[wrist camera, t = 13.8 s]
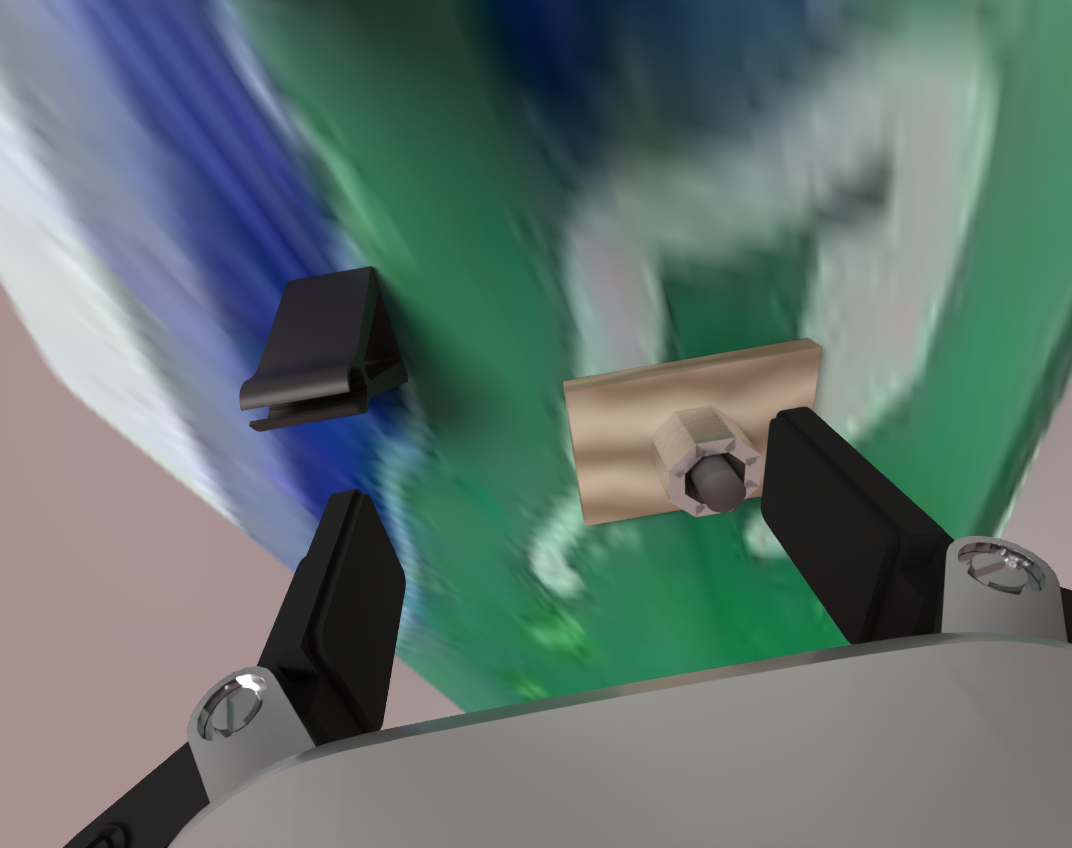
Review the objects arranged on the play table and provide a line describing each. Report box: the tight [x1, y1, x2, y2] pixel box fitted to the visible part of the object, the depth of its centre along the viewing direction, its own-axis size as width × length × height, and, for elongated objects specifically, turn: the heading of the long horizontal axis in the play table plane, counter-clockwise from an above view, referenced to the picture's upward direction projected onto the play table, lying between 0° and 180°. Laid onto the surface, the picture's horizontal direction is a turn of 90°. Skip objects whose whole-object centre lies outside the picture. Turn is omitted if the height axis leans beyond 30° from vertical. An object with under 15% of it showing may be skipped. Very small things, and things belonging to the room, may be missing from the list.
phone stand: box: [239, 266, 408, 432], centre depth 32 cm, size 9×6×12 cm, turn 9°
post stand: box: [563, 338, 822, 526], centre depth 40 cm, size 14×20×9 cm
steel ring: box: [651, 405, 762, 517], centre depth 40 cm, size 7×7×5 cm
